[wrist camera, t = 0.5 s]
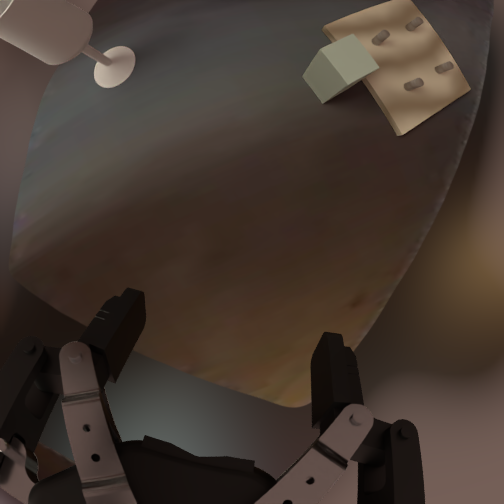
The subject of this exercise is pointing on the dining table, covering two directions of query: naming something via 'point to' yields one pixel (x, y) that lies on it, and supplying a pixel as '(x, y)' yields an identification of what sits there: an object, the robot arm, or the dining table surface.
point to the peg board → (403, 62)
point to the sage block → (339, 67)
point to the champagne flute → (61, 37)
